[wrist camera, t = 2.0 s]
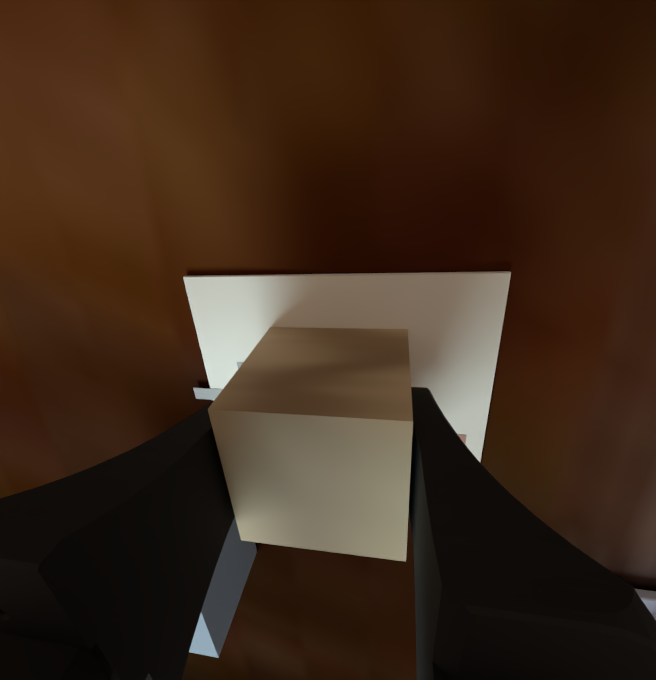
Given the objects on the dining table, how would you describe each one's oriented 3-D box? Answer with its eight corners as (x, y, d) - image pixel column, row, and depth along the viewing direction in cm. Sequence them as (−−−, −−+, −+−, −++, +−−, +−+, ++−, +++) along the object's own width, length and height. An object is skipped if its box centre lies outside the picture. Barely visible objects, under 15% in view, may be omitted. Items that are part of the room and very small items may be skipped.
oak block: (407, 329, 11) (413, 421, 7) (403, 440, 13) (405, 561, 9) (270, 327, 12) (207, 409, 8) (285, 432, 14) (240, 540, 10)
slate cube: (242, 485, 16) (193, 590, 12) (257, 549, 18) (218, 657, 14) (153, 476, 17) (79, 572, 13) (176, 538, 19) (118, 638, 15)
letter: (509, 271, 10) (511, 273, 10) (476, 478, 14) (477, 482, 14) (166, 276, 12) (163, 277, 12) (214, 456, 16) (212, 459, 15)
